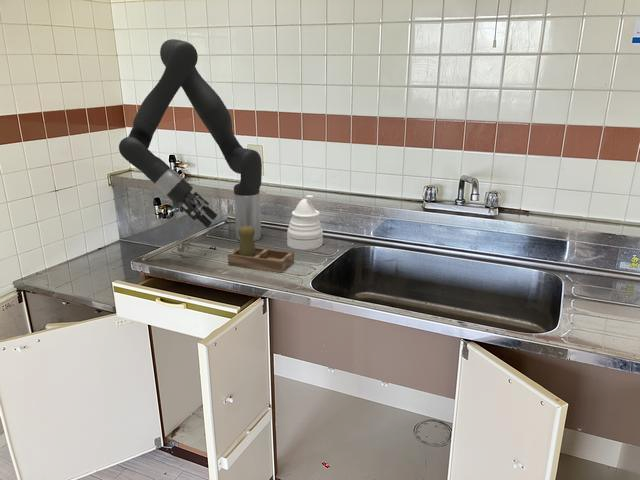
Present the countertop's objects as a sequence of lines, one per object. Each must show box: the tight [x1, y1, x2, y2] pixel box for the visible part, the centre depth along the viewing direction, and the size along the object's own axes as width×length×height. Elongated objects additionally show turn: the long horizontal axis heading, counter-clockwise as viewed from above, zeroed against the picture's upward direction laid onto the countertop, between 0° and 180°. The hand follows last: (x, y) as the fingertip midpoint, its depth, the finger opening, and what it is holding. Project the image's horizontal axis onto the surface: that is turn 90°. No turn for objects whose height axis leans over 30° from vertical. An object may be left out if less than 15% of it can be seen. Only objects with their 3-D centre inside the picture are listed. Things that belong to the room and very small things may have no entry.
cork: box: [238, 226, 256, 257], centre depth 165 cm, size 6×6×11 cm
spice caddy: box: [227, 246, 295, 274], centre depth 165 cm, size 10×19×4 cm, turn 70°
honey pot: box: [286, 194, 324, 251], centre depth 183 cm, size 13×13×18 cm
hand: (212, 221), depth 164 cm, fingers open, 8 cm apart
